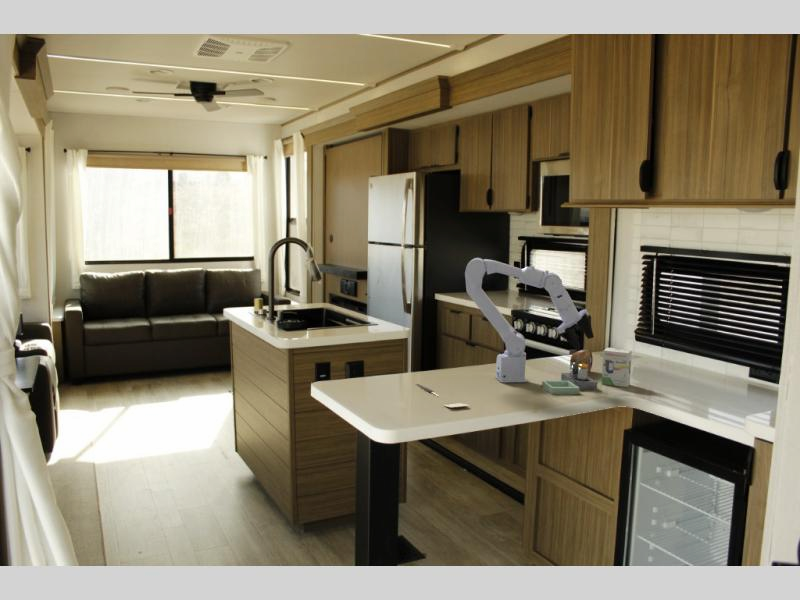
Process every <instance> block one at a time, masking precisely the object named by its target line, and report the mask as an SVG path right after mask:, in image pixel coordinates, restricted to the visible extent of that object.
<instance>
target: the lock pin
mask: <svg viewBox="0 0 800 600" xmlns="http://www.w3.org/2000/svg"><path fill="white" fill-rule="evenodd" d="M588 374H589V373H588V364H579V368H578V381H587V376H588ZM588 377H589V376H588Z"/></svg>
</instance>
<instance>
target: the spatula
mask: <svg viewBox="0 0 800 600" xmlns="http://www.w3.org/2000/svg"><path fill="white" fill-rule="evenodd" d="M416 385H417V386H416ZM415 386H416V387H418V386H419V387H418V388H420V387H421V388H420V389H422V390H423V389H424V391H426V392H428V393H430V394H433V396H435V395H436V396H435V397H437V396H440V395H439V394H437V393H436V392H434V390H432V389H430V388H428V387H426V386H423V385H421V384H419V383H416V384H415ZM443 405H444V406H443V407H447V408H452V409H453V408H462V407H469V406H470V404H466V403H461V402H459V403H452V404H450V403H449V405H448V404H443Z"/></svg>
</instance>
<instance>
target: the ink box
mask: <svg viewBox="0 0 800 600" xmlns="http://www.w3.org/2000/svg"><path fill="white" fill-rule="evenodd" d="M602 352H603V353H602V370H601V371H602V373H601V375H602V376H601V377H602V378H601V385H605V386H614V387H623V388H628V387H629V386H630V384H631V373H632V371H631V370H632V356H633V355H632V353H633V351H632V350H630V349H622V348H615V347H605V349H603V350H602Z"/></svg>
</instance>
